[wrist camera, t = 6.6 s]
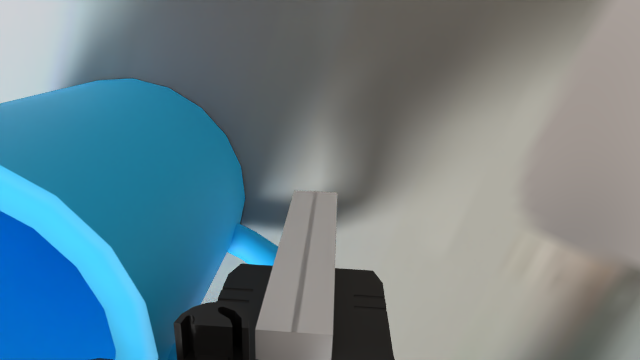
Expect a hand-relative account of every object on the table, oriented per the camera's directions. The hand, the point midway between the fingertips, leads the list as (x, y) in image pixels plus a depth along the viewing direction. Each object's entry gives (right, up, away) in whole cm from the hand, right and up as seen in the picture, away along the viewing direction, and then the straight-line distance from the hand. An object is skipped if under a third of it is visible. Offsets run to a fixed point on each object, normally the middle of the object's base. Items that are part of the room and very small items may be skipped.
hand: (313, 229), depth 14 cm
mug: (-5, +1, +3) cm, 6 cm away
